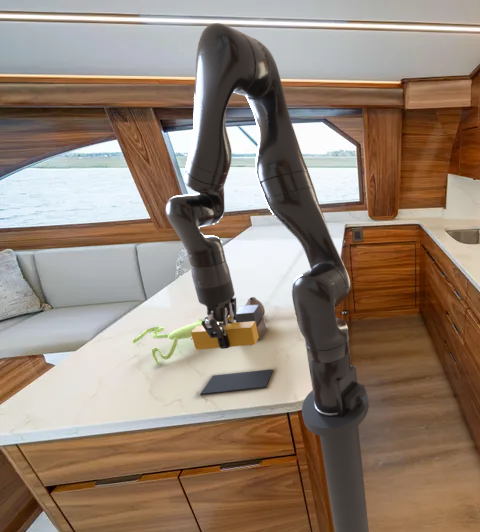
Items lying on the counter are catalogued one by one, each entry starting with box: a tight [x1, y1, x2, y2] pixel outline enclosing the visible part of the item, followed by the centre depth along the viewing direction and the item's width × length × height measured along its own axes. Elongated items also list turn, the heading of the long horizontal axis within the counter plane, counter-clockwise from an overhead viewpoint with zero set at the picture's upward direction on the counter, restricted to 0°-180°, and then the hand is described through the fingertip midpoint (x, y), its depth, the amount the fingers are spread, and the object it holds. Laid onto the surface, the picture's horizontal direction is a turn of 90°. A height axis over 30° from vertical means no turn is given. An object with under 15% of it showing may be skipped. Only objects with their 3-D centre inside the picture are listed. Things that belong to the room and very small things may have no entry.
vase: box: [244, 296, 265, 317], centre depth 111 cm, size 7×7×9 cm
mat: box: [199, 368, 274, 396], centre depth 80 cm, size 16×7×1 cm, turn 97°
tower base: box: [256, 316, 267, 341], centre depth 101 cm, size 7×7×5 cm
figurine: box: [131, 316, 222, 366], centre depth 99 cm, size 18×27×6 cm
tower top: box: [234, 305, 262, 326], centre depth 99 cm, size 6×6×5 cm
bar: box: [191, 321, 259, 351], centre depth 75 cm, size 14×3×5 cm, turn 97°
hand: (228, 343), depth 76 cm, fingers closed on bar, 3 cm apart
